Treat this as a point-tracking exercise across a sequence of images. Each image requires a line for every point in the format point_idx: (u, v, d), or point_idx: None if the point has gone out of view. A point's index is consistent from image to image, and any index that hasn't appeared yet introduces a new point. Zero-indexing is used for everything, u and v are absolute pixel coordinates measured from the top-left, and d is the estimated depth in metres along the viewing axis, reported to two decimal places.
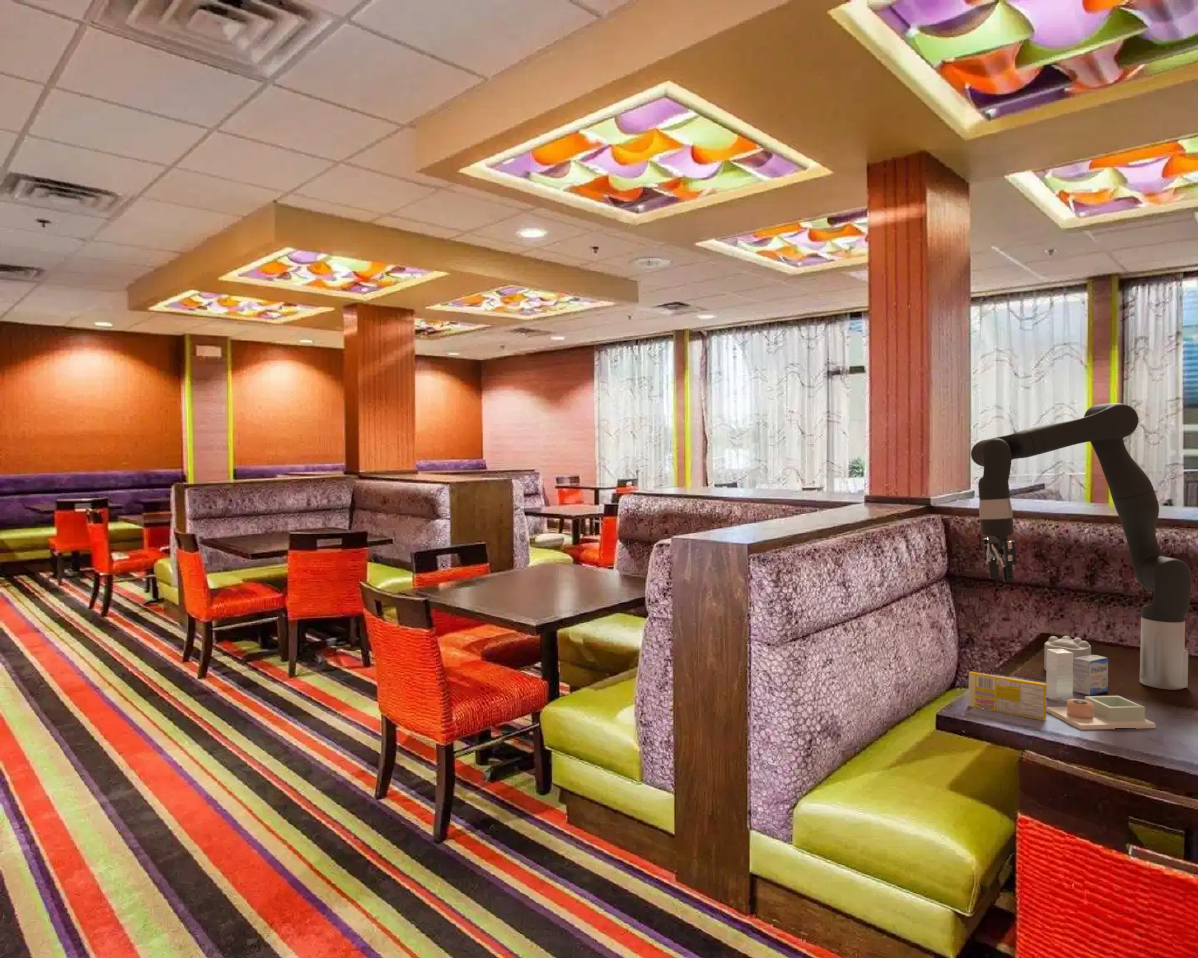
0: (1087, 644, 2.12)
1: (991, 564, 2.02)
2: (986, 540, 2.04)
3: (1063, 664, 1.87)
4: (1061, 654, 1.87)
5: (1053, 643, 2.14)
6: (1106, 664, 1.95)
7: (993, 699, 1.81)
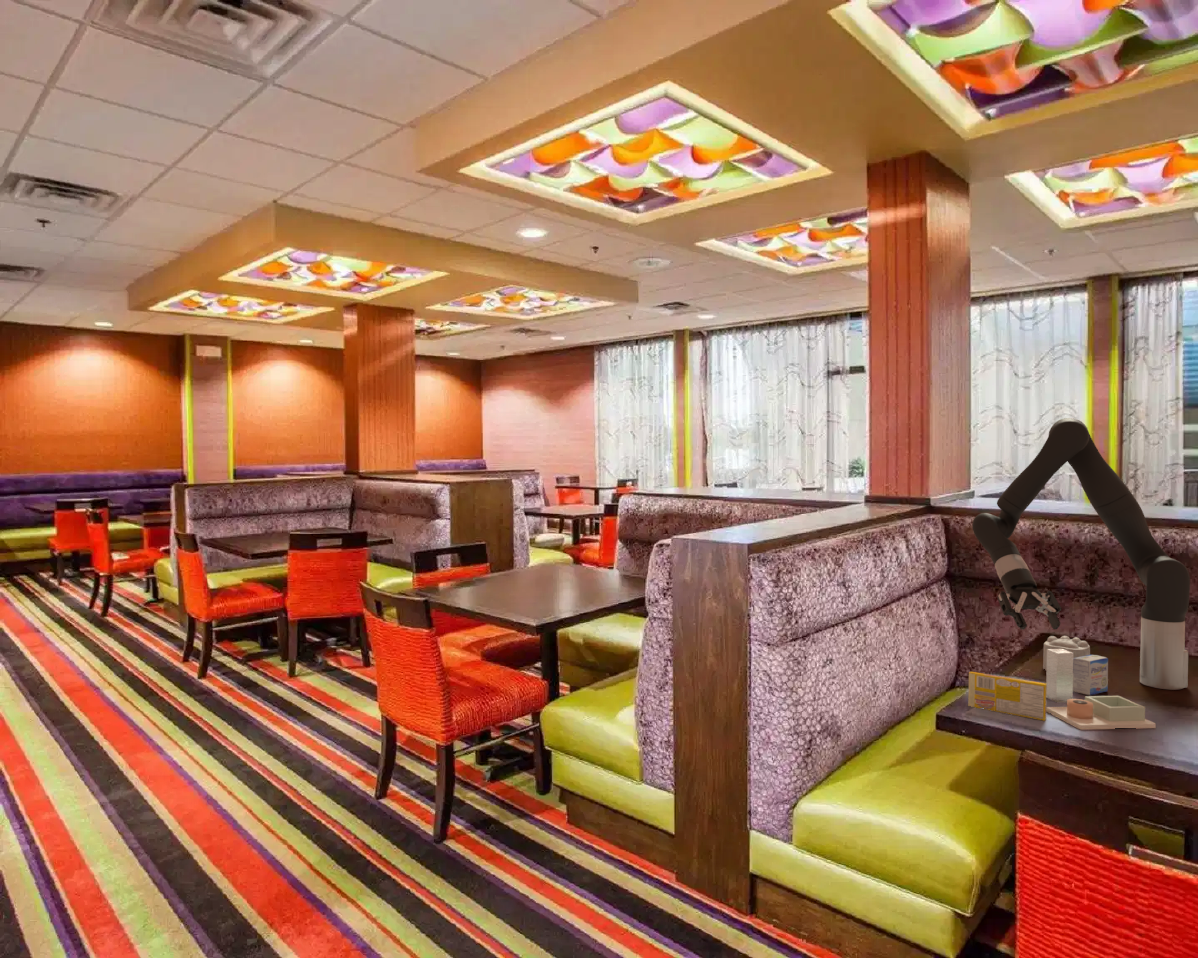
0: (1086, 644, 2.12)
1: (1048, 616, 2.00)
2: None
3: (1063, 664, 1.87)
4: (1061, 654, 1.87)
5: (1052, 643, 2.14)
6: (1106, 664, 1.95)
7: (993, 699, 1.81)
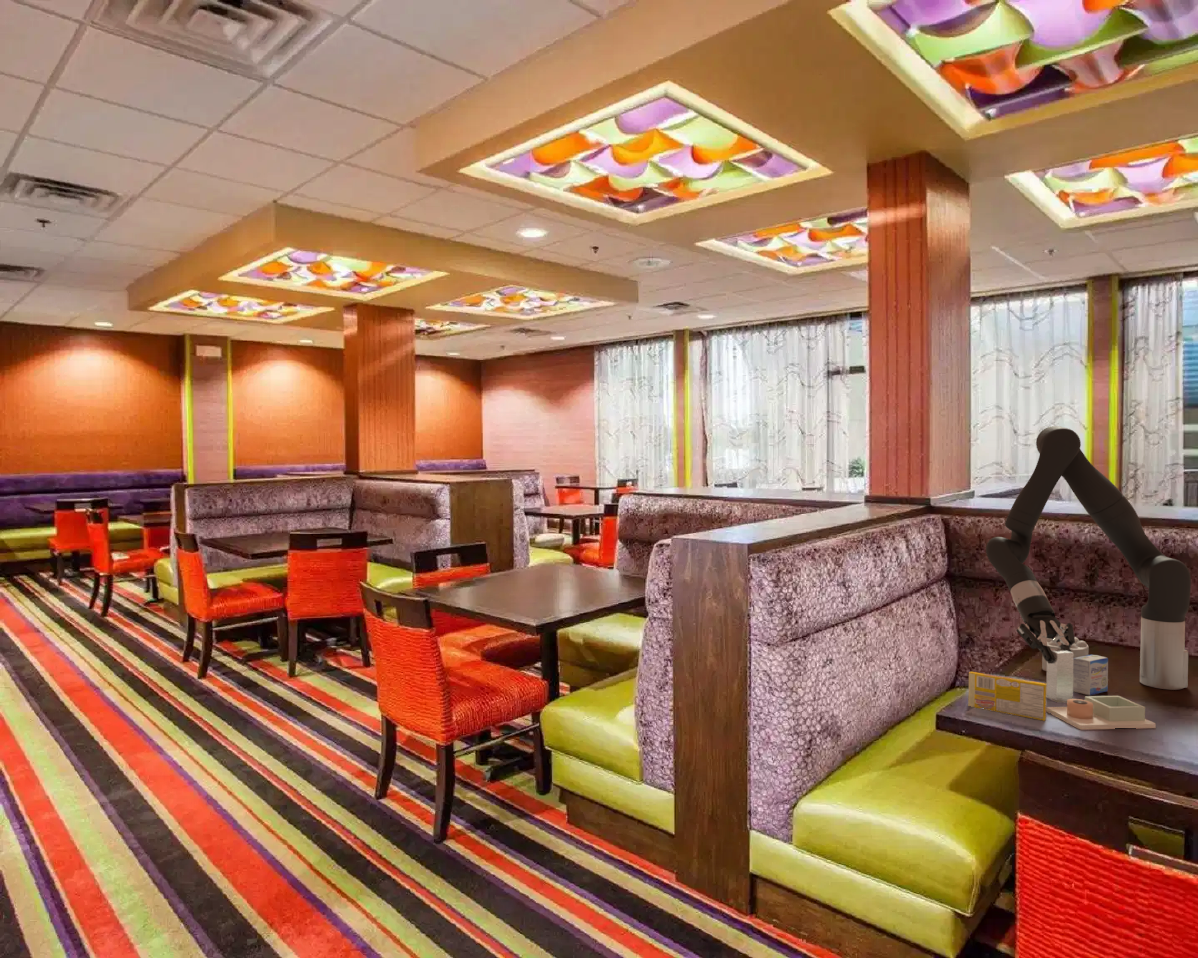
0: (1085, 644, 2.12)
1: None
2: None
3: (1063, 664, 1.87)
4: (1061, 654, 1.87)
5: (1051, 643, 2.14)
6: (1106, 664, 1.95)
7: (993, 699, 1.81)
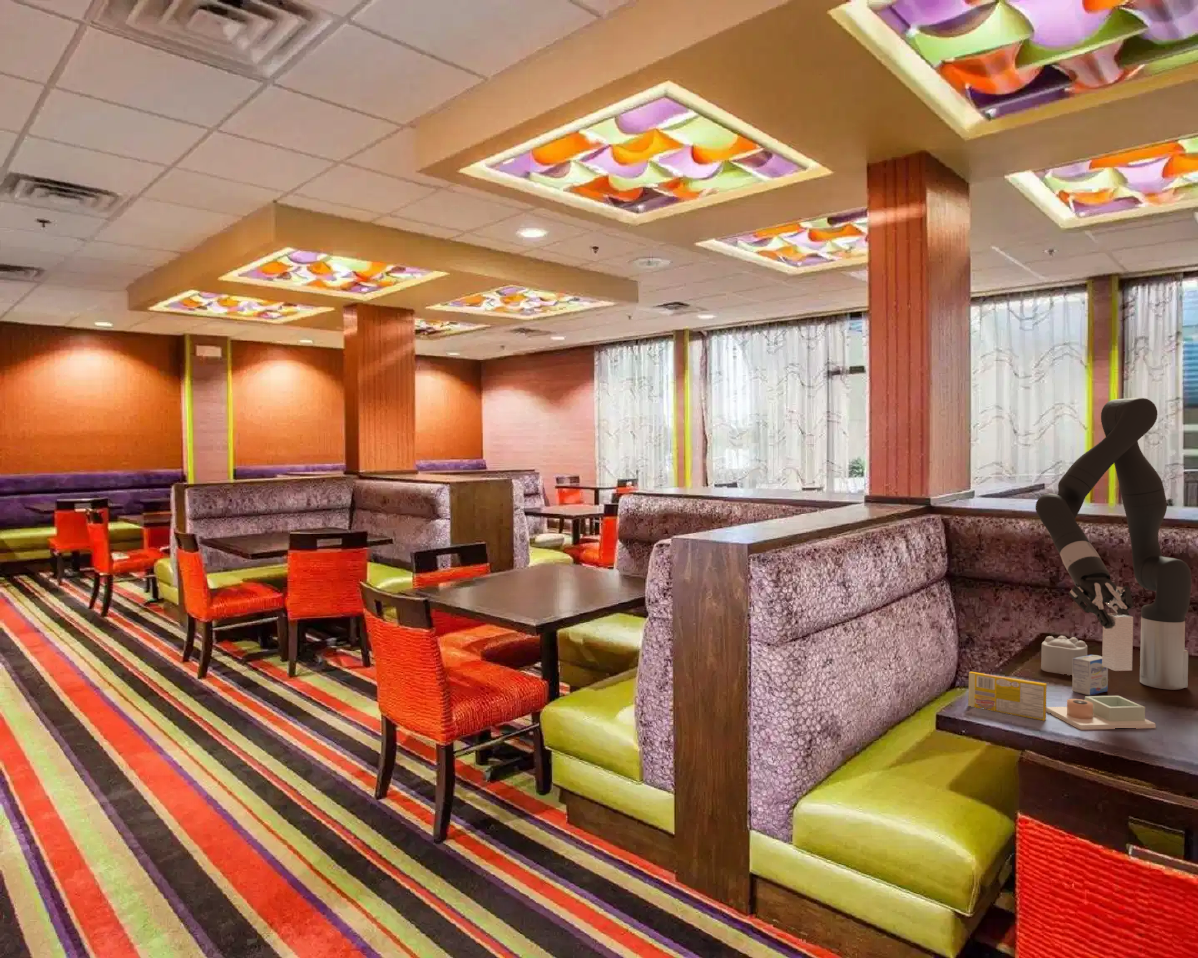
0: (1084, 644, 2.12)
1: None
2: None
3: (1122, 629, 1.72)
4: (1120, 618, 1.72)
5: (1050, 643, 2.14)
6: None
7: (993, 699, 1.81)
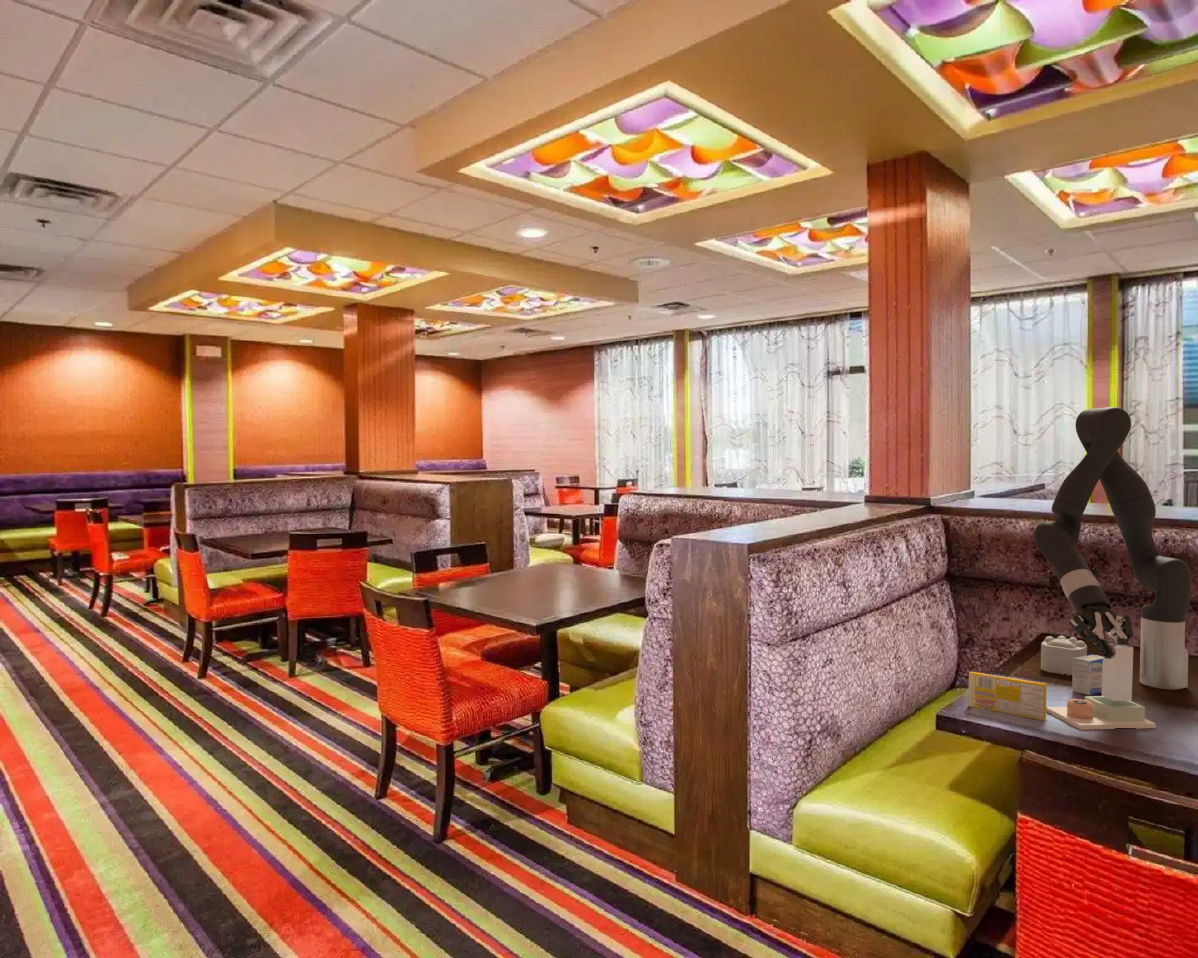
0: (1083, 644, 2.12)
1: None
2: None
3: (1122, 659, 1.72)
4: (1120, 648, 1.72)
5: (1050, 643, 2.14)
6: None
7: (993, 699, 1.81)
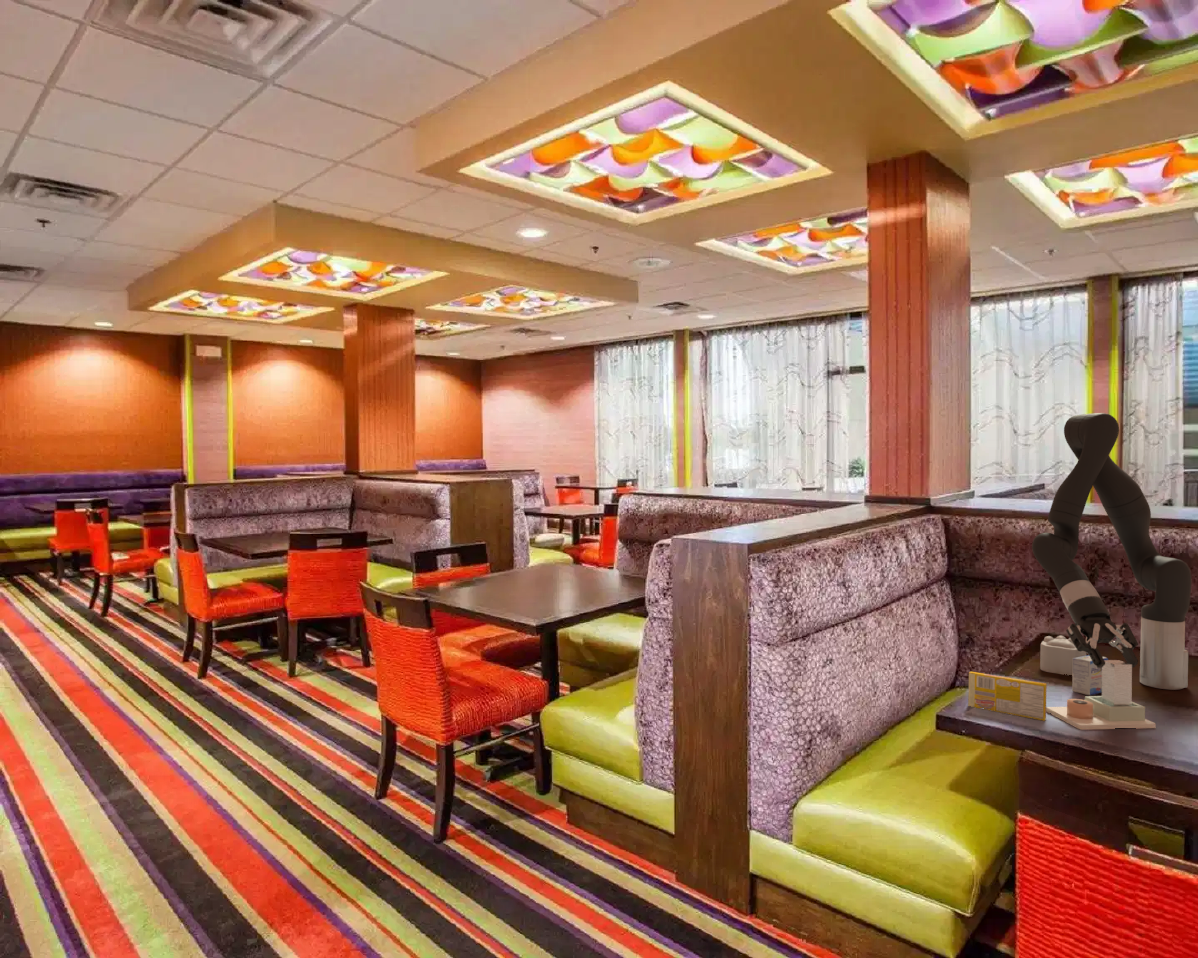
0: None
1: (1123, 652, 1.77)
2: None
3: (1120, 676, 1.73)
4: (1119, 665, 1.73)
5: (1049, 643, 2.14)
6: None
7: (993, 699, 1.81)
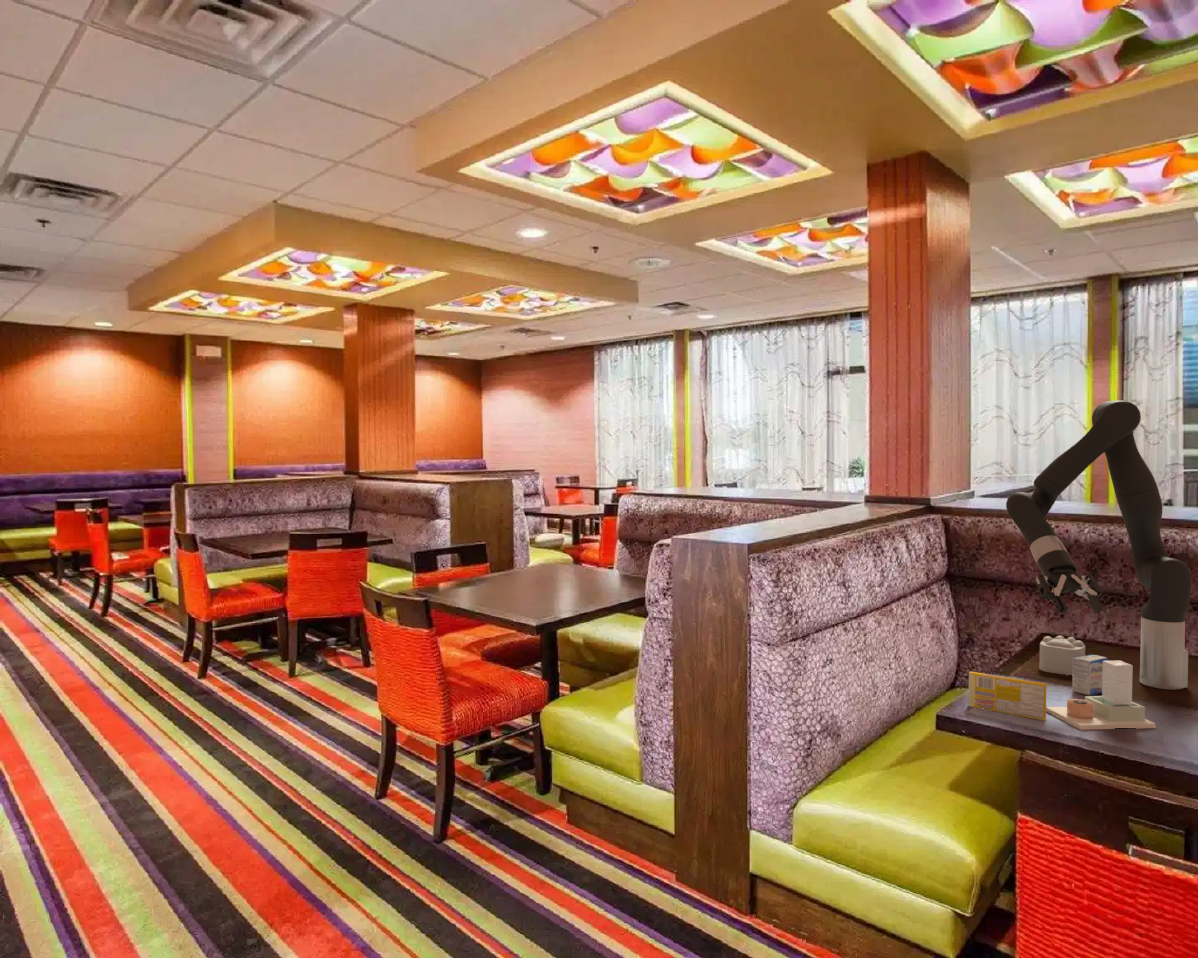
0: (1082, 644, 2.13)
1: (1089, 599, 1.89)
2: None
3: (1121, 677, 1.73)
4: (1119, 666, 1.72)
5: (1049, 643, 2.14)
6: None
7: (993, 699, 1.81)
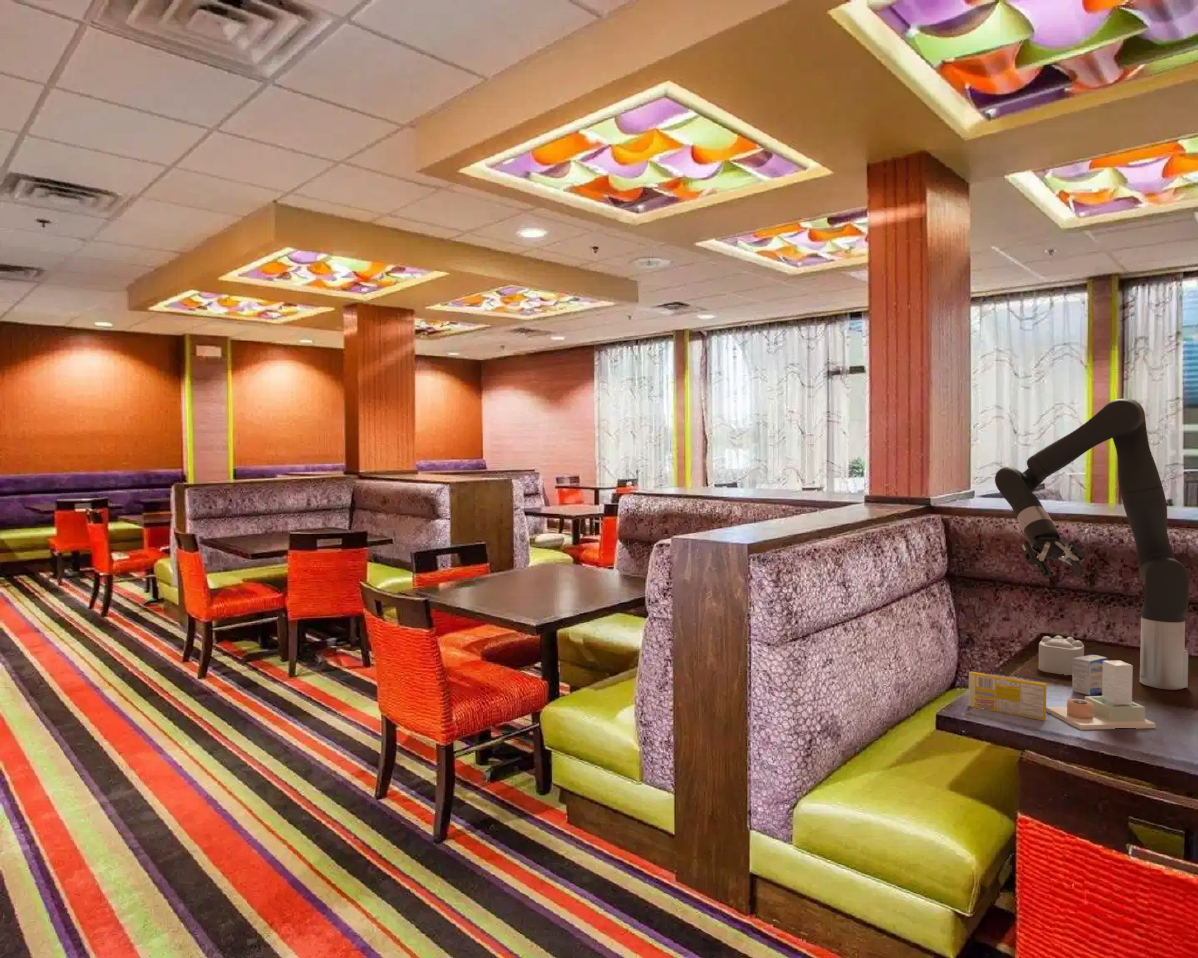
0: (1081, 644, 2.13)
1: (1072, 564, 2.03)
2: None
3: (1121, 677, 1.73)
4: (1119, 666, 1.72)
5: (1048, 643, 2.14)
6: None
7: (993, 699, 1.81)
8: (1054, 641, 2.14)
